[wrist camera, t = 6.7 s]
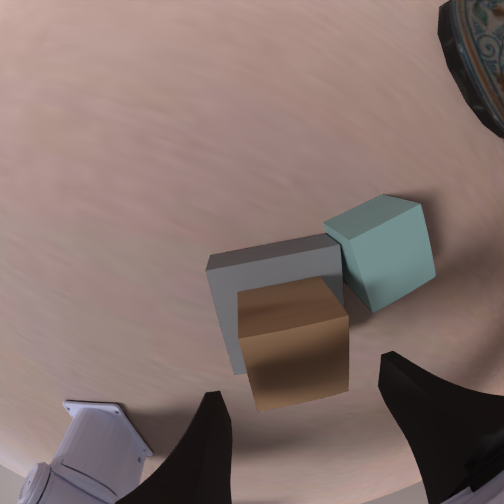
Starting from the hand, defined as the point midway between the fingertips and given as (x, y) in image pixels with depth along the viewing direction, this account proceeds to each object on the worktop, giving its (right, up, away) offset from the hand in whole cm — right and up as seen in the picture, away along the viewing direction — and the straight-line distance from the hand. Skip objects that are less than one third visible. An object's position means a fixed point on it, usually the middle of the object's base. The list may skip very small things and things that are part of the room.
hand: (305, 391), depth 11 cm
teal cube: (+6, +7, +9) cm, 12 cm away
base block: (-1, +3, +9) cm, 10 cm away
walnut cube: (0, +2, +6) cm, 7 cm away
